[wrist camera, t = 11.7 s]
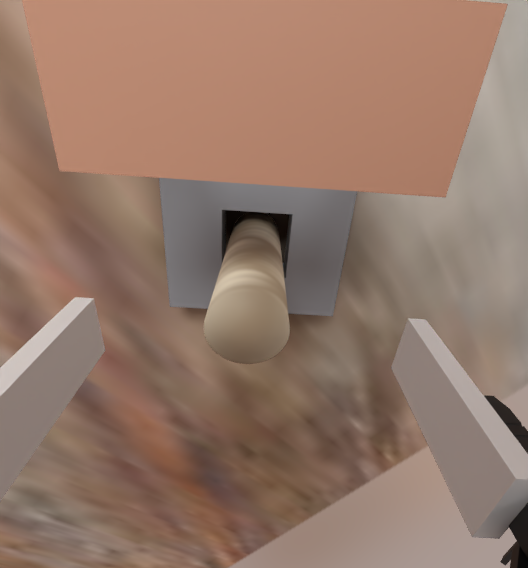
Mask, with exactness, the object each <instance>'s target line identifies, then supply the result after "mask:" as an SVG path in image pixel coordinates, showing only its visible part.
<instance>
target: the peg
mask: <svg viewBox="0 0 528 568" xmlns="http://www.w3.org/2000/svg"><path fill="white" fill-rule="evenodd" d="M204 334H205V338H206V340H207V342H208V344H209V345H210V347H211V348H212V349H213V350H214V351H215V352H216V353H217V354H219V355H220V356H221V357H223V358H225V359H227V360H229V361H233V362H236V363H242V364H254V363H260V362H263V361H266V360H269V359H271V358H272V357H274V356H276V355H277V354H278V353H279V352H280V351H281V350H282V349H283V348H284V347H285V345H286V343H287V341H288V338H289V334H290V325H289V316H288V307H287V298H286V290H285V281H284V272H283V263H282V254H281V245H280V237H279V229H278V226H277V224H276V222H275V221H274V219H273V218H272V217H270V216H269V215H267V214H265V213H263V212H248V213H246V214H244V215H242V216H241V217H240V218H239V219H238V220H237V221H236V223H235V224H234V227H233V230H232V233H231V237H230V240H229V243H228V246H227V249H226V253H225V256H224V259H223V262H222V265H221V269H220V272H219V275H218V278H217V282H216V285H215V288H214V291H213V294H212V298H211V301H210V304H209V307H208V310H207V314H206V317H205V321H204Z"/></svg>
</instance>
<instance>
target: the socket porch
mask: <svg viewBox="0 0 528 568" xmlns="http://www.w3.org/2000/svg"><path fill="white" fill-rule="evenodd" d="M22 2H23V7H24V11H25V16H26V20H27V25H28V29H29V34H30V38H31V43H32V48H33V52H34V57H35V61H36V66H37V70H38V75H39V79H40V84H41V89H42V93H43V98H44V102H45V107H46V111H47V116H48V120H49V125H50V130H51V134H52V139H53V143H54V148H55V152H56V157H57V161H58V166H59V171H69V172H83V173H98V174H112V175H127V176H142V177H156V178H159V182H160V194H161V206H162V218H163V230H164V242H165V254H166V266H167V278H168V290H169V302H170V307H186V308H203V309H208V307H209V304H210V301H211V298H212V294H213V291H214V288H215V285H216V282H217V278H218V275H219V272H220V269H221V265H222V262H223V259H224V256H225V253H226V210H234V211H249V212H264V213H279V214H289V219H288V229H287V239H286V248H285V258H284V263H283V272H284V281H285V290H286V298H287V307H288V314H304V315H321V316H333V313H334V307H335V302H336V297H337V292H338V287H339V282H340V277H341V272H342V267H343V261H344V256H345V251H346V246H347V241H348V236H349V231H350V226H351V220H352V215H353V210H354V205H355V200H356V195H357V191H361V192H375V193H390V194H404V195H419V196H434V197H446V194H447V191H448V188H449V184H450V181H451V178H452V175H453V172H454V169H455V166H456V163H457V160H458V157H459V154H460V150H461V147H462V144H463V141H464V138H465V135H466V132H467V129H468V126H469V123H470V119H471V116H472V113H473V110H474V107H475V104H476V101H477V98H478V95H479V92H480V89H481V85H482V82H483V79H484V76H485V73H486V70H487V67H488V64H489V61H490V58H491V54H492V51H493V48H494V45H495V42H496V39H497V36H498V33H499V30H500V27H501V24H502V20H503V17H504V14H505V11H506V8H507V5H508V4H502V3H490V2H478V1H466V0H22Z"/></svg>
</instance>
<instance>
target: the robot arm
mask: <svg viewBox="0 0 528 568" xmlns="http://www.w3.org/2000/svg"><path fill="white" fill-rule="evenodd" d="M104 351H105V347H104V342H103V338H102V333H101V329H100V324H99V320H98V315H97V311H96V306H95V302H94V298H78V297H75V298H74V299H73V300H72V301H71V302H70V303H68V304H67V305H66V306H65V307H64V308H63V309H62V310H61V311H60V312H59V313H58V314H57V315H56V316H55V317H54V318H53V319H51V320H50V321H49V322H48V323H47V324H46V325H45V326H44V327H43V328H42V329H41V330H40V331H39V332H38V333H37V334H36V335H34V336H33V337H32V338H31V339H30V340H29V341H28V342H27V343H26V344H25V345H24V346H23V347H22V348H21V349H20V350H19V351H18V352H16V353H15V354H14V355H13V356H12V357H11V358H10V359H9V360H8V361H7V362H6V363H5V364H4V365H3V366H2V367H1V368H0V501H1V499H2V498H3V497H4V495H5V494H6V492H7V491H8V489H9V488H10V487H11V485H12V484H13V482H14V481H15V479H16V478H17V476H18V475H19V474H20V472H21V471H22V469H23V468H24V466H25V465H26V464H27V462H28V461H29V459H30V458H31V456H32V455H33V453H34V452H35V451H36V449H37V448H38V446H39V445H40V443H41V442H42V441H43V439H44V438H45V436H46V435H47V433H48V432H49V431H50V429H51V428H52V426H53V425H54V423H55V422H56V420H57V419H58V418H59V416H60V415H61V413H62V412H63V410H64V409H65V408H66V406H67V405H68V403H69V402H70V400H71V399H72V397H73V396H74V395H75V393H76V392H77V390H78V389H79V387H80V386H81V385H82V383H83V382H84V380H85V379H86V377H87V376H88V374H89V373H90V372H91V370H92V369H93V367H94V366H95V364H96V363H97V362H98V360H99V359H100V357H101V356H102V354H103V353H104ZM391 369H392V371H393V373H394V375H395V377H396V379H397V381H398V383H399V385H400V387H401V389H402V392H403V394H404V396H405V398H406V400H407V402H408V404H409V406H410V408H411V410H412V412H413V415H414V417H415V419H416V421H417V423H418V425H419V427H420V429H421V431H422V433H423V436H424V438H425V440H426V442H427V444H428V446H429V448H430V450H431V452H432V454H433V456H434V459H435V461H436V463H437V465H438V467H439V469H440V471H441V473H442V475H443V477H444V479H445V482H446V484H447V486H448V488H449V490H450V492H451V494H452V496H453V498H454V500H455V502H456V504H457V507H458V509H459V511H460V513H461V515H462V517H463V519H464V521H465V523H466V525H467V528H468V530H469V532H470V534H471V536H472V537H479V538H498V539H499V538H500V537H501V536H502V535H503V534H504V532H505V531H506V530H507V529H508V528H510V529H511V531H512V533H513V535H514V536H515V538H516V540H517V542H516V543H515V544H514V545H513V546H512V547H511V548H510V549H509V550H508V552H507V553H506V554H505V555H504V556H503V558H502V560H501V563H503V564H504V565H506V564H507V563H508V562H509V561H510V560H511V564H510V568H528V431H527V430H526V428H525V427H522V425H521V422H520V421H519V420H518V419H517V418H516V416H515V415H514V414H513V413H512V411H511V410H510V409H509V408H508V407H506V406H505V405H504V404H503V403H502V402H500V401H499V400H498V399H497V398H495V397H494V396H484V395H483V394H482V393H481V392H480V390H479V389H478V388H477V386H476V385H475V384H474V382H473V381H472V380H471V378H470V377H469V376H468V374H467V373H466V372H465V370H464V369H463V368H462V366H461V365H460V364H459V363H458V361H457V360H456V359H455V357H454V356H453V355H452V353H451V352H450V351H449V349H448V348H447V347H446V345H445V344H444V343H443V341H442V340H441V339H440V338H439V336H438V335H437V334H436V332H435V331H434V330H433V328H432V327H431V326H430V324H429V323H428V322H427V320H425V319H409V318H408V319H407V322H406V325H405V328H404V331H403V334H402V337H401V340H400V343H399V346H398V349H397V352H396V355H395V358H394V361H393V364H392V367H391Z"/></svg>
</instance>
